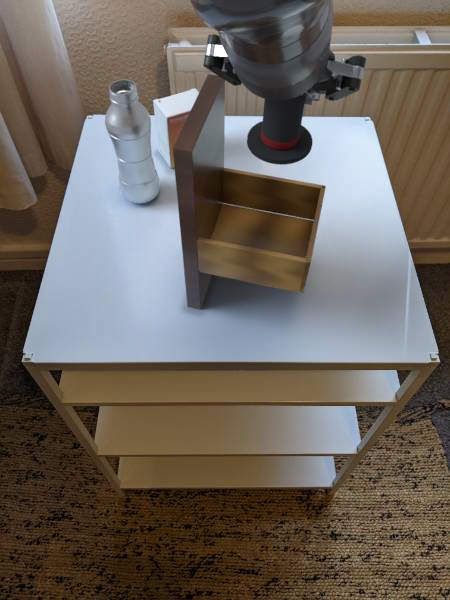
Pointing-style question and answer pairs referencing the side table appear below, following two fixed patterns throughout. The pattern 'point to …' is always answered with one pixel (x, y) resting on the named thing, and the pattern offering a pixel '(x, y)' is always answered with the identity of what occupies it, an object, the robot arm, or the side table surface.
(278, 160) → the hat
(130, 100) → the plastic bottle
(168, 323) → the side table surface
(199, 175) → the wooden drawer
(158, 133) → the small box
